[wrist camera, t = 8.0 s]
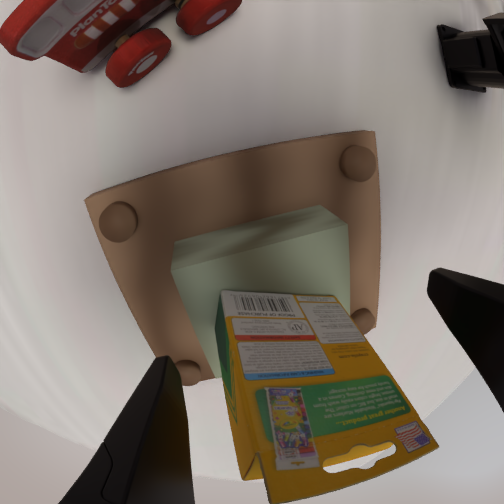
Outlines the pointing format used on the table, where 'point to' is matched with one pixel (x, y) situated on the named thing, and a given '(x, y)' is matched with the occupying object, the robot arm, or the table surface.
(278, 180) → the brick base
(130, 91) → the table surface
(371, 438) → the crayon box
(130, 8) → the toy fire truck
